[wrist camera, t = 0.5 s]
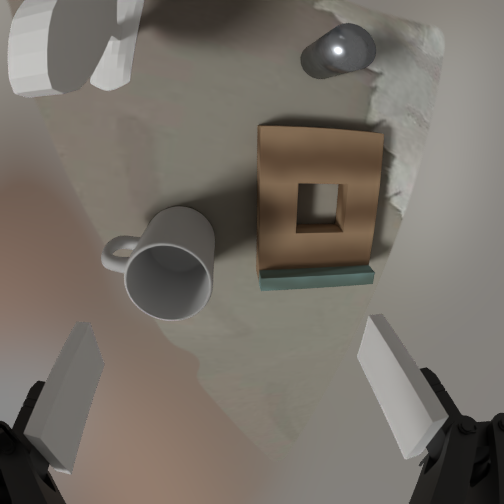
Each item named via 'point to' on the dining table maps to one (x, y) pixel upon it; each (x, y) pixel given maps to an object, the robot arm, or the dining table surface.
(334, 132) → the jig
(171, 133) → the dining table surface
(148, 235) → the mug
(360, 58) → the grey metal cylinder
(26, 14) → the heart sculpture
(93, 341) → the robot arm
